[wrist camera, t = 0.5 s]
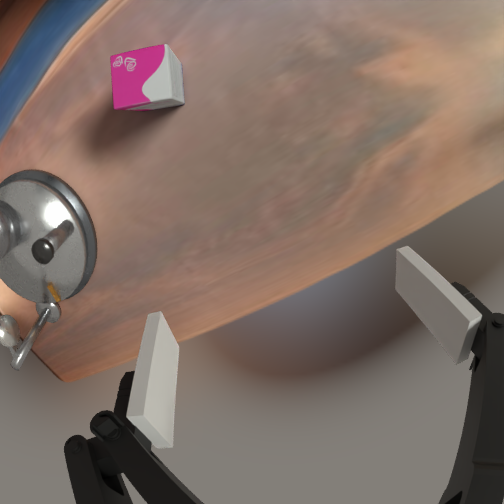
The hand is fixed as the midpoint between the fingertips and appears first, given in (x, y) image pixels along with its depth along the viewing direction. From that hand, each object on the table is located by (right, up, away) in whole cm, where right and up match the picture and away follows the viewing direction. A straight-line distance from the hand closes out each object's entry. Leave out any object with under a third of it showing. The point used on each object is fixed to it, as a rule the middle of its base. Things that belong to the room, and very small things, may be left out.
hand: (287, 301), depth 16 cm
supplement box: (-13, +23, +17) cm, 32 cm away
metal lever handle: (-38, -5, +28) cm, 48 cm away
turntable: (-35, +4, +22) cm, 42 cm away
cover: (-39, +7, +18) cm, 44 cm away
